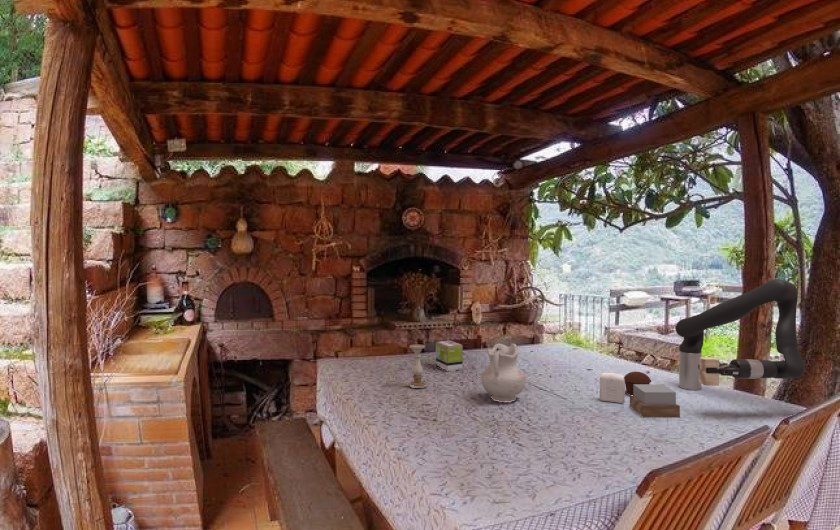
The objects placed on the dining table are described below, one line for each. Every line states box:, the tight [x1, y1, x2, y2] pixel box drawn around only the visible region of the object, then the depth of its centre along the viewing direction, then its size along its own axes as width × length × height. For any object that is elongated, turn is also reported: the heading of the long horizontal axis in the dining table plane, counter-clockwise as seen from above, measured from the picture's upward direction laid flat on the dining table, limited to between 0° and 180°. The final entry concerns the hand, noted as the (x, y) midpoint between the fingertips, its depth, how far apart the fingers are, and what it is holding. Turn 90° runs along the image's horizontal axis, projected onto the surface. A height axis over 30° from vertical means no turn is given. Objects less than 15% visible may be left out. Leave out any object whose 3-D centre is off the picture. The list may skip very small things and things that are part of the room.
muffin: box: [624, 371, 652, 396], centre depth 227 cm, size 12×11×10 cm
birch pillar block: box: [699, 357, 720, 387], centre depth 197 cm, size 5×5×10 cm
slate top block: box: [633, 383, 677, 405], centre depth 202 cm, size 12×12×5 cm
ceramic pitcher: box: [480, 342, 526, 401], centre depth 220 cm, size 22×20×25 cm
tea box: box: [435, 340, 464, 370], centre depth 281 cm, size 15×10×15 cm
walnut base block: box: [629, 395, 681, 418], centre depth 202 cm, size 14×14×5 cm
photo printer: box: [599, 372, 626, 404], centre depth 216 cm, size 10×4×12 cm, turn 60°
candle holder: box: [409, 343, 426, 386], centre depth 243 cm, size 9×9×20 cm
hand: (702, 368), depth 197 cm, fingers closed on birch pillar block, 5 cm apart
